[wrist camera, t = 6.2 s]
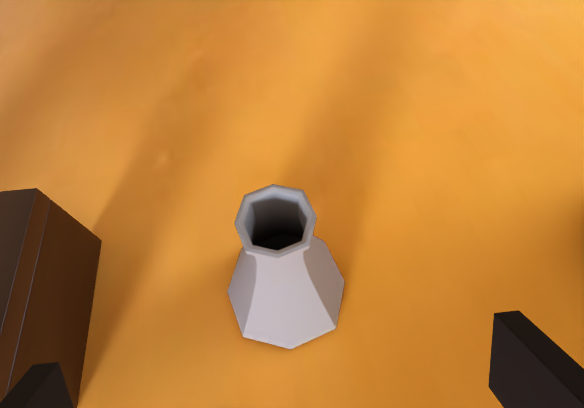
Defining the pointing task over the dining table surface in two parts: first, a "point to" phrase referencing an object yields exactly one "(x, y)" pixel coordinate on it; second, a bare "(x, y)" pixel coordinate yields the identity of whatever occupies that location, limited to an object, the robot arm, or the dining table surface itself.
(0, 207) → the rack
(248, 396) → the dining table surface
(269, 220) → the flask
